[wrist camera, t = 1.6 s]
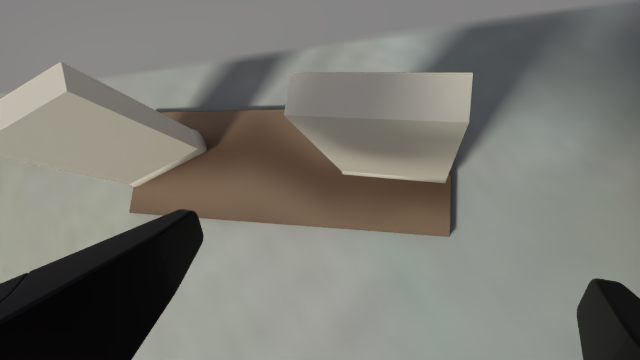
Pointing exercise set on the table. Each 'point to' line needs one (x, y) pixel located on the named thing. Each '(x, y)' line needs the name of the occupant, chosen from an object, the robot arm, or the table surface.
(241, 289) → the table surface
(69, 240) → the table surface
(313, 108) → the tile
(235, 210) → the tile board
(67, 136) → the tile
